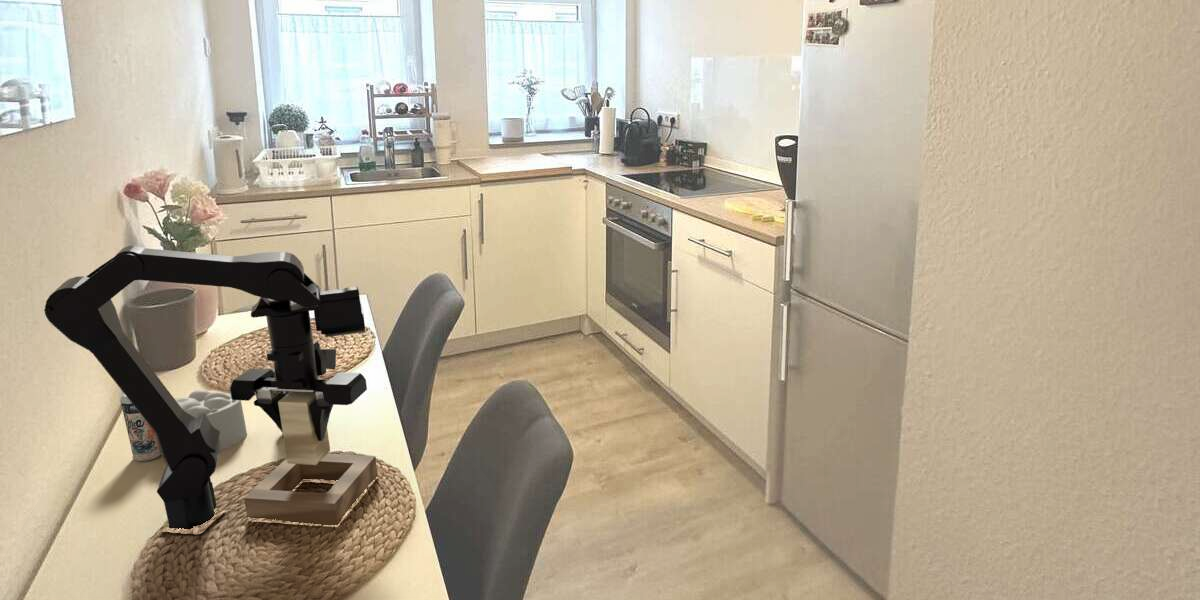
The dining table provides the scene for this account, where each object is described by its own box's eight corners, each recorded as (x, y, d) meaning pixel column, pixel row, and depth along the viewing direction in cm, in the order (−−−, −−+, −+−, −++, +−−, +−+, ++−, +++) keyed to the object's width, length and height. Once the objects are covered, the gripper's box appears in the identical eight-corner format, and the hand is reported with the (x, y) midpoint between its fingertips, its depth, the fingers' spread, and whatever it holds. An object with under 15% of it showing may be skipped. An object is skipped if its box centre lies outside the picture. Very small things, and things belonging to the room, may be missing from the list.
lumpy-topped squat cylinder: (169, 437, 145) (159, 393, 142) (246, 423, 150) (239, 380, 147) (164, 463, 136) (154, 416, 133) (247, 447, 140) (239, 401, 138)
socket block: (337, 528, 115) (334, 503, 114) (248, 522, 117) (243, 498, 116) (378, 478, 128) (375, 456, 127) (296, 473, 131) (293, 451, 129)
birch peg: (315, 465, 118) (306, 403, 115) (287, 463, 119) (277, 401, 116) (330, 450, 123) (321, 390, 120) (302, 449, 123) (293, 389, 120)
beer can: (129, 465, 135) (114, 399, 132) (137, 452, 140) (122, 388, 136) (161, 460, 136) (147, 395, 133) (167, 447, 141) (154, 384, 137)
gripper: (376, 324, 121) (387, 418, 126) (262, 321, 124) (277, 412, 129) (343, 350, 111) (356, 452, 116) (219, 346, 114) (237, 445, 118)
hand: (306, 438), depth 120 cm, fingers closed on birch peg, 4 cm apart
